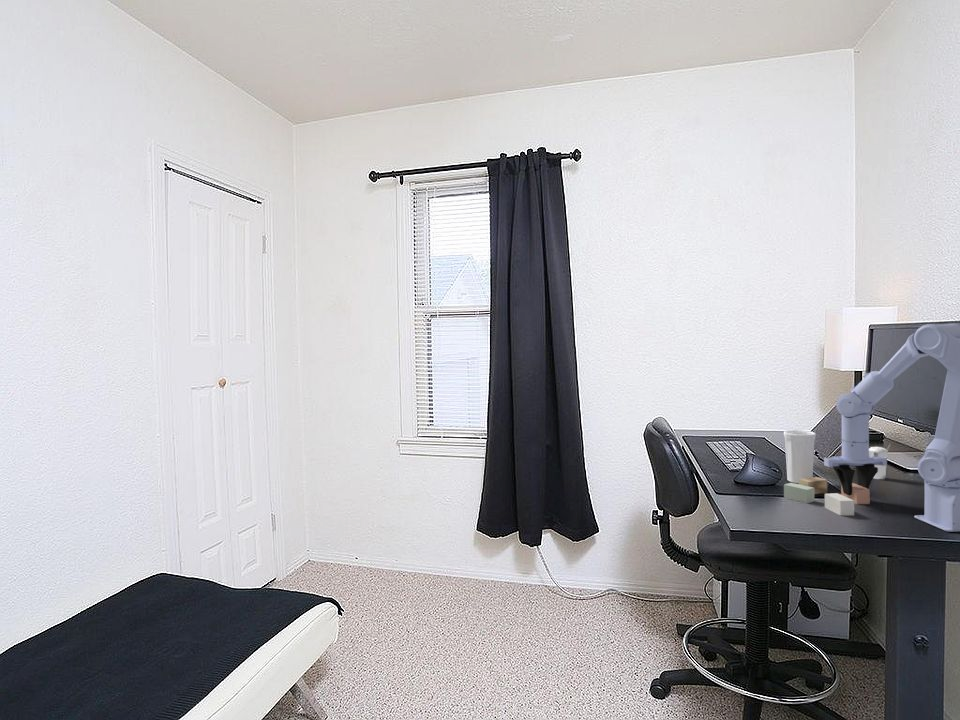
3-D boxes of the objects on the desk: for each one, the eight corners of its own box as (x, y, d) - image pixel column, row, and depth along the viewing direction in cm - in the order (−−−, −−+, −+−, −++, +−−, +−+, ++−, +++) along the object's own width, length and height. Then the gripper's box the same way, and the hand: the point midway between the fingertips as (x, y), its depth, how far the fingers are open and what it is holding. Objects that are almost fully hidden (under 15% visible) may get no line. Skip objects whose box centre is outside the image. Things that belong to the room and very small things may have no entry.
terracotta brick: (869, 503, 138) (869, 489, 138) (856, 504, 138) (856, 489, 138) (853, 496, 144) (853, 483, 144) (841, 497, 144) (841, 483, 144)
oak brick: (817, 490, 152) (817, 477, 151) (827, 493, 148) (827, 479, 148) (798, 492, 150) (798, 479, 150) (808, 495, 147) (808, 481, 147)
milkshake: (894, 480, 158) (894, 445, 158) (873, 480, 159) (873, 445, 159) (886, 476, 163) (886, 442, 162) (865, 475, 164) (865, 442, 163)
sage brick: (814, 501, 142) (814, 487, 142) (807, 503, 140) (807, 489, 140) (791, 496, 147) (791, 482, 147) (784, 498, 145) (783, 484, 145)
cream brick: (854, 515, 130) (854, 500, 130) (840, 516, 130) (840, 500, 130) (837, 507, 136) (837, 493, 136) (824, 508, 136) (824, 493, 136)
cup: (786, 485, 157) (786, 434, 156) (781, 477, 164) (780, 429, 164) (819, 486, 154) (819, 435, 154) (812, 479, 162) (812, 430, 161)
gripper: (873, 437, 144) (873, 488, 145) (816, 438, 145) (817, 490, 145) (892, 442, 137) (892, 496, 138) (833, 443, 138) (833, 498, 138)
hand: (855, 494), depth 141 cm, fingers closed on terracotta brick, 3 cm apart
